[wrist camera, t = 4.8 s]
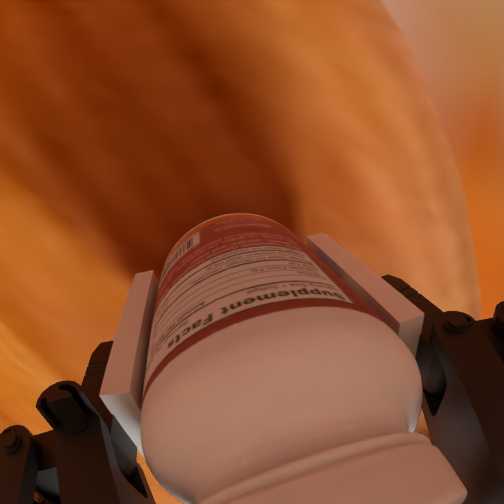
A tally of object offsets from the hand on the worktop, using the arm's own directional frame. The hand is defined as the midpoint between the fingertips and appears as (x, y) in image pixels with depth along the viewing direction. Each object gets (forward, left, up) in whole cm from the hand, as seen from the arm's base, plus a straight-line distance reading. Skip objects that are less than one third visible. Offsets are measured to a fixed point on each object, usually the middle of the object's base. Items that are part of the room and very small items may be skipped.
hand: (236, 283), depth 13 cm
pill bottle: (0, 0, -1) cm, 1 cm away
